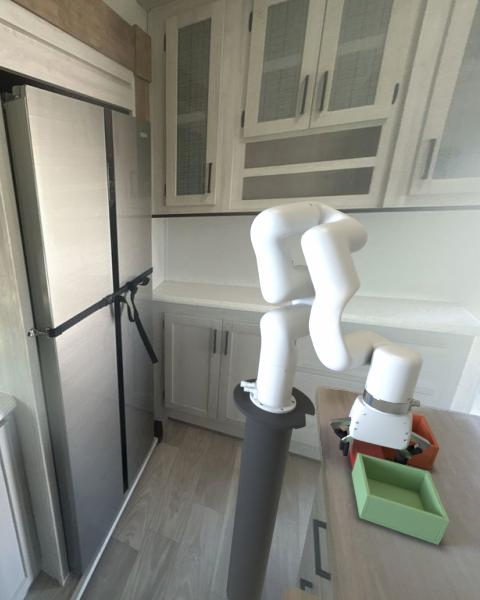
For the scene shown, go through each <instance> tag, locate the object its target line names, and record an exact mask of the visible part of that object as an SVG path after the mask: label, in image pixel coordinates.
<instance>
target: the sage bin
mask: <svg viewBox="0 0 480 600" xmlns="http://www.w3.org/2000/svg"><path fill="white" fill-rule="evenodd" d="M384 459H385V458H384ZM384 459H380V458H376V457H373V456H369V455H365V454H361V453H358V454H357V458H356V461H355V464H354V468H353V469H352V471H351V478H352V484H353V489H354V495H355V499H356V506H357V511H358V516H359V519H362V520H365V521H366V522H367V521H368V522H370V523H373V524H376V525H379V526H382V527H385V528H388V529H390V530H394V531H397V532H399V533H402V534H405V535H408V536H411V537H414V538H416V539H420V540H422V541H424V542H428V543H432V544H434V545H436V546H439V545H440V542H441V541H442V539H443V536H444V535H445V532H446V530H447V528H448V526H449V524H450V522H451V521H450V518H449V515H448V514H447V511H446V509H445V506H444V504H443V501H442V499H441V496H440V494H439V491H438V489H437V487H436V485H435V482H434V480H433V478H432V475H431V473H430V471H428V470H424V469H421V468H417V467H413V466H411V465H407V464H406V465H402V464H399V463H395V462H394V461H392V460H391V461H390V460H387V459H385V460H384Z"/></svg>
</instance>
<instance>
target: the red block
mask: <svg viewBox="0 0 480 600" xmlns="http://www.w3.org/2000/svg"><path fill="white" fill-rule="evenodd" d="M358 453H361V454H365V455H369V456H373V457H376V458H380V459H384V460H386V458H384V456H383V452H382V449H381V446H380V445H377V444H373V443H369V442H365V441H361V440H357V439H354V440H352V444H351V447H350V451H349V456H350V463H351V468H352V470H353V468H354V464H355V461H356V458H357V454H358Z"/></svg>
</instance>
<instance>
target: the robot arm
mask: <svg viewBox="0 0 480 600" xmlns="http://www.w3.org/2000/svg"><path fill="white" fill-rule="evenodd" d="M249 233H250V239H251V245H252V248H253V250H254V254H255V256H256V257H255V258H256V264H257V272H258V278H259V286H260V292H261V295H262V298H263V300H265V301H266V302H267V303H269V304H273V305H279V304H285V303H289V302H291V304H290V305H289V304H288V305H285V306H280V307H277V308H273V309H271V310H269V311H267V312H265V314H263V316H262V317H261V319H260V320H259V321H260V322H259V328H260V329H259V330H260V337H261V338H260V339H261V343H260V344H261V345H260V352H259V353H260V354H259V363H258V370H257V378H256V379H257V380H256V383H254V382H252V383H249V382H245V381H246V380H241V382H240V383H241V387H244V391H246V392H250V399H251V400H252V402H253V403H254V404H255V405H256V406H258V407H259V408H261V409H263V410H265V411H268V412H272V413H279V414H283V413H289V412H291V411H293V410H294V409H295V407H296V400H295V398H294V397H293V396H292V395H291V394H292V389H293V387H294V382H295V377H296V370H297V365H298V359H299V351H298V348H297V346H296V343H295V341H296V340H298V339H301V338H304V337H306V336H309V337H310V338H311V341H312V345H313V348H314V351H315V353H316V356H317V358H318V359H319V361H320V362H321V363H322V364H323V366H325V368H327V369H329V370H331V371H333V372H348V371H351V370H354V369H356V368H360V367H363V366H369V367H368V372H367V376H366V381H365V385H364V388H363V394H359V395H358V396H357V397H356V398H355V400H354V402H353V404H352V406H351V410H350V412H349V414H348V416H347V417H337V418H336V417H335V418H330V419H329V425H330V427H331V428H332V430H333V433H334V434H335V436H337V437H338V438H339V440H340V441H339V445H338V449H339V451H341V453H342V456H343V457H348V455H349V452H350V451H349V450H350V446H351V444H350V442H351V441H353V440H354V439H357V440H361V441H365V442H369V443H373V444H377V445H381V446H385V447H390V448H394V449H397V451H396V454H395V458H394V460H393V462H395V463H399V464H402V465H406V466H407V465H408V464H407V461H408V458H412V456H413V455H417V454H421V453H422V451H425V450H426V449H428V448H429V447H431V445H430V443H429V441H428V440H426V439H424V438H423V437H421V436H419V435H417V434H416V433H414V432H412V431H411V430H412V414H413V410H412V407H420V406H421V401H420V400H419V399H415V398H413V396H414V393H415V390H416V387H417V382H418V379H419V377H420V373H421V370H422V366H423V363H424V361H423V357H422V355H421V354H420V353H419V352H417V351H416V350H415V349H413V348H410V347H408V346H403V345H398V344H397V343H394V342H392V341H391V340H389V339H387V338H385V337H384V336H382V335H380V334H378V333H377V332H374V331H372V330H368V329H358V330H355V331H352V332H351V331H350V332H349V333H343V329H342V316H343V312H344V310H345V308H346V306H347V305H348V303H349V302H350V300H351V299H352V298H353V297H354V296H355V295H356V294H357V292H358V291H359V289H360V287H361V281H360V278H359V275H358V272H357V269H356V266H355V263H354V260H353V256H352V254H354V253H357V252H359V251H361V250H362V249H363V248H364V247H365V246H366V244H367V242H368V232H367V229H366V228H365V226H364V225H363V224H362V223H361V222H360V221H358V219H356V218H354V217H352V216H351V215H348V214H346V213H344V212H342V211H340V210H338V209H336V208H335V207H332V206H330V205H327V204H325V203H324V202H321V201H317V200H304V201H298V202H293V203H284V204H278V205H275V206H272V207H269V208H267V209H265V210H262V211H261V212H259V213H258V214H257V215H256V217H255V218H254V220H253V222H252V223H251V227H250V231H249ZM299 235H302V236H301V239H300V246H301V249H302V254H303V256H304V260H305V263H306V264H297V265H294V263H293V255H292V252H291V249H290V248H289V246H288V244H287V243H286V242H285V241H284V240H283V239H285V238H288V237H295V236H299ZM342 426H347V428H345V429H342V428H341V427H342ZM410 439H411V440H413V441H415V442H416V443H417V444H413V445H409V442H410ZM408 445H409V446H408Z"/></svg>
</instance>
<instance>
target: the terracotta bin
mask: <svg viewBox="0 0 480 600" xmlns="http://www.w3.org/2000/svg"><path fill="white" fill-rule="evenodd" d="M428 423H429V422H428V421H427V419H426V417H425V415H421V414H416V413H412V430H411V431H412V432H414V433H416V434H417V435H419V436H421V437H423V438H424V439H426V440H428V441H429V443H430V445H431V447H429V448H428V449H426V450H425V451H422V453H421V454H417V455H413V456H412V458H408V461H407V464H406V465H409V466H414V467H418V468H423V469H426V470H430V471H432V467H433V466H434V463H435V461H436V459H437V456H438V454H439V451H440V446H439V443H438V442H437V440H436V438H435V436H434V433H433V432H432V429H431V427H430V425H429V424H428ZM413 444H417V443H416V442H415V441H413V440H411V439H410V442H409V445H413ZM409 445H408V446H409ZM380 446H381V445H380ZM381 449H382V452H383V456H384V459H388V460H391V461H394V458H395V454H396V451H397V449H394V448H390V447H385V446H381Z"/></svg>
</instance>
